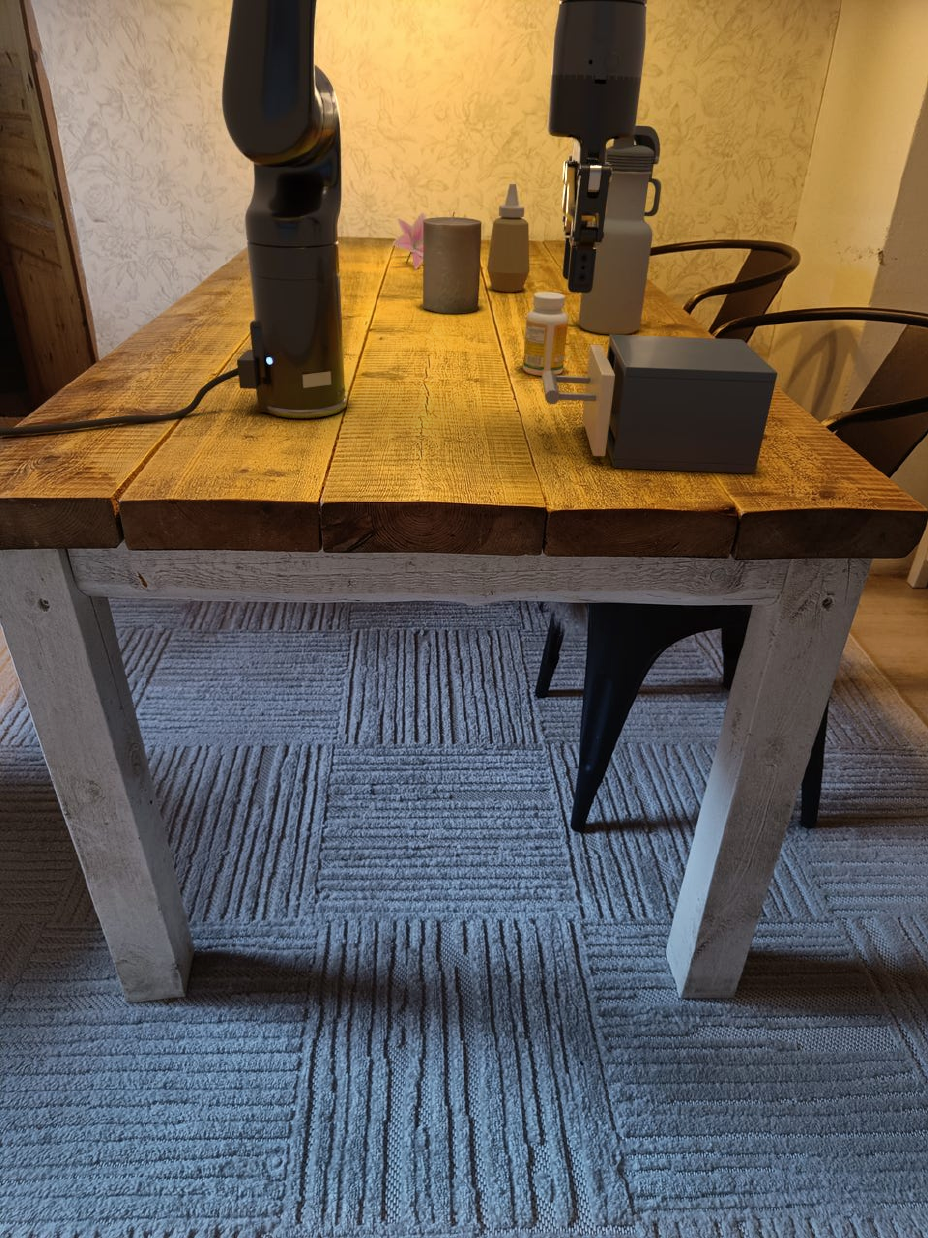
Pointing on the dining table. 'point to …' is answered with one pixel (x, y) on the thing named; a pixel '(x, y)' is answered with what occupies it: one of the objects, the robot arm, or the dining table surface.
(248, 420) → the dining table surface
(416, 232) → the lily
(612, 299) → the water bottle
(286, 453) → the dining table surface
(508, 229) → the squeeze bottle
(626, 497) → the dining table surface
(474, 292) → the pillar candle
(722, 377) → the cabinet
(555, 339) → the supplement bottle
